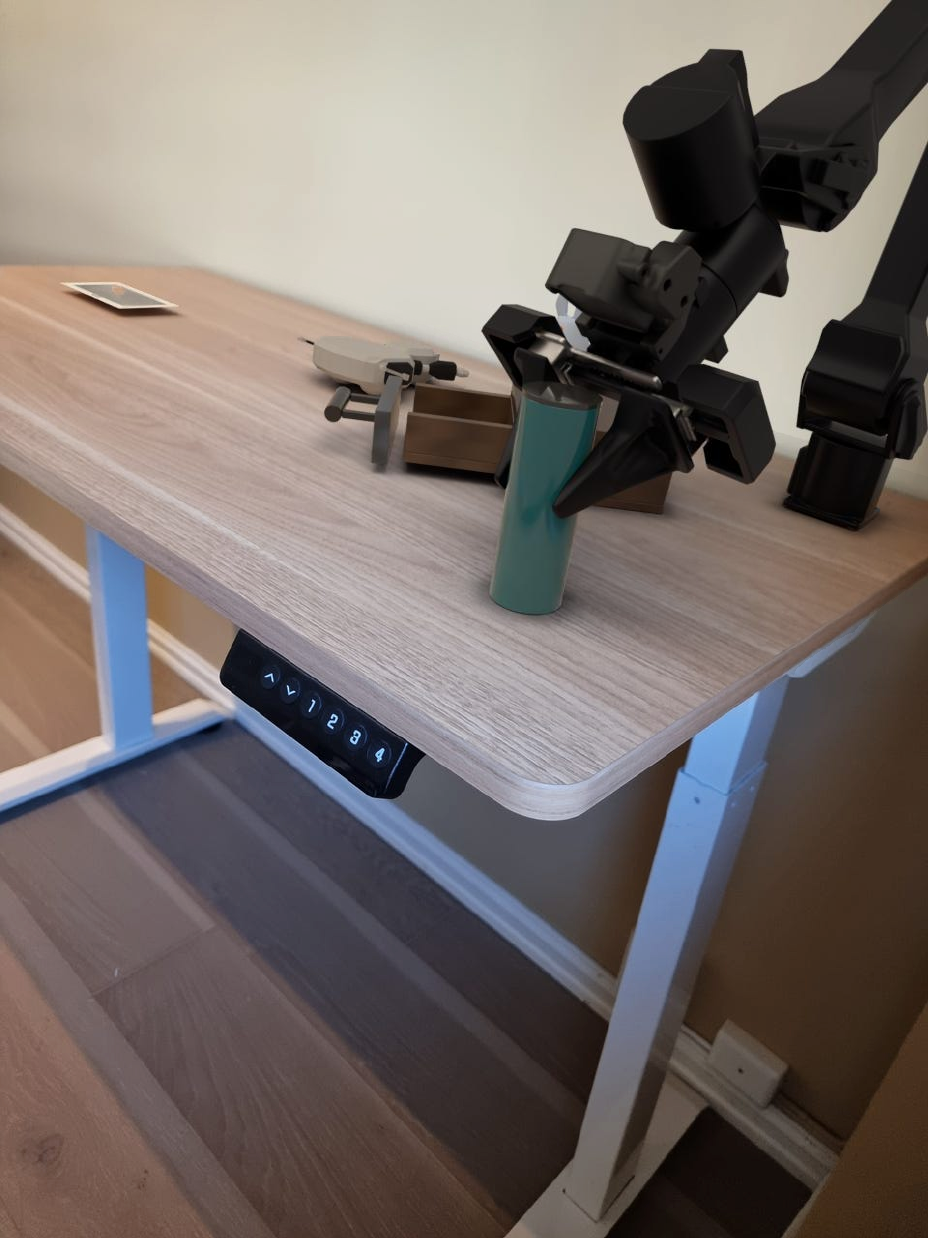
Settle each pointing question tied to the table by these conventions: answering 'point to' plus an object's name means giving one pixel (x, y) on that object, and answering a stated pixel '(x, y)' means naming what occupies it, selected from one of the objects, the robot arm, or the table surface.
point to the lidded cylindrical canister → (542, 495)
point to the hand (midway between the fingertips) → (526, 498)
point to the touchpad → (119, 295)
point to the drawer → (435, 424)
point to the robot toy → (379, 362)
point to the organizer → (635, 498)
